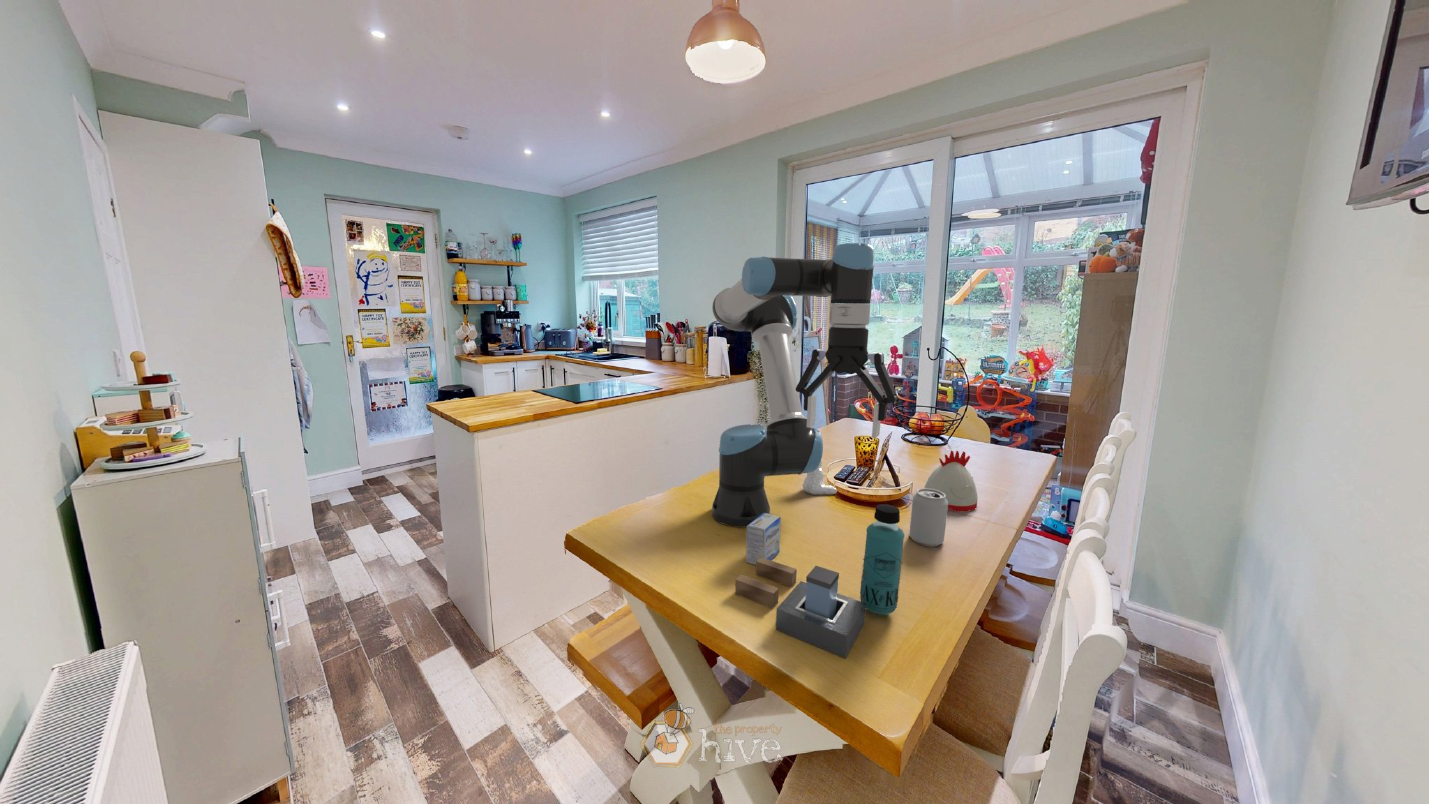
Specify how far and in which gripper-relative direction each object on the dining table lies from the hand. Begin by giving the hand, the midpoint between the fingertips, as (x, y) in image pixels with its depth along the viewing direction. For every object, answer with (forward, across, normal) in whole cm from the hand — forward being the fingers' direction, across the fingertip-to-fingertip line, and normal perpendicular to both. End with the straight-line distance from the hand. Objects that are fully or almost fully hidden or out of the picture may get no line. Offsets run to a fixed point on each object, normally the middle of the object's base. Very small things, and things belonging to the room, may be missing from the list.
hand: (841, 431), depth 98 cm
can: (+29, +15, +21) cm, 39 cm away
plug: (+29, +6, -23) cm, 37 cm away
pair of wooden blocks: (+29, -7, -18) cm, 35 cm away
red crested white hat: (+29, +16, +50) cm, 60 cm away
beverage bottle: (+29, +13, -13) cm, 34 cm away
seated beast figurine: (+29, -18, +35) cm, 49 cm away
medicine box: (+29, -13, -8) cm, 33 cm away
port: (+29, +6, -23) cm, 37 cm away
